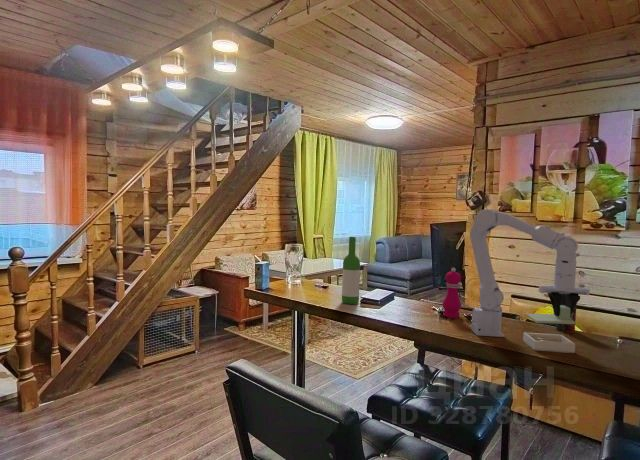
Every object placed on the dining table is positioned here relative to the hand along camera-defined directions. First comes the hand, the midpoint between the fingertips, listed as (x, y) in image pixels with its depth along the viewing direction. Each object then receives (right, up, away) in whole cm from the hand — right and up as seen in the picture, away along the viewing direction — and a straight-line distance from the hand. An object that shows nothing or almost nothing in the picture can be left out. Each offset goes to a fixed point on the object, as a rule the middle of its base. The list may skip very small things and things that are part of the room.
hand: (562, 315), depth 130 cm
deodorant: (+13, -10, +20) cm, 26 cm away
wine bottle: (-64, -6, +53) cm, 84 cm away
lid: (-4, -1, 0) cm, 4 cm away
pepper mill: (-24, -8, +35) cm, 43 cm away
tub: (-4, -10, +1) cm, 11 cm away
